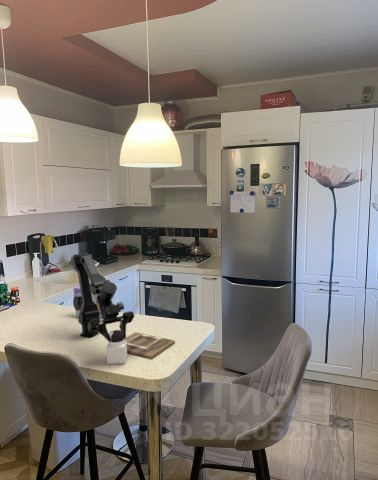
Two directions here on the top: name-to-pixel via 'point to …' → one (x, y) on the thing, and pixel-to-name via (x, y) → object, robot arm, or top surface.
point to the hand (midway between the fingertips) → (117, 339)
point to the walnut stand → (147, 345)
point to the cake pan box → (78, 301)
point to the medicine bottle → (116, 348)
